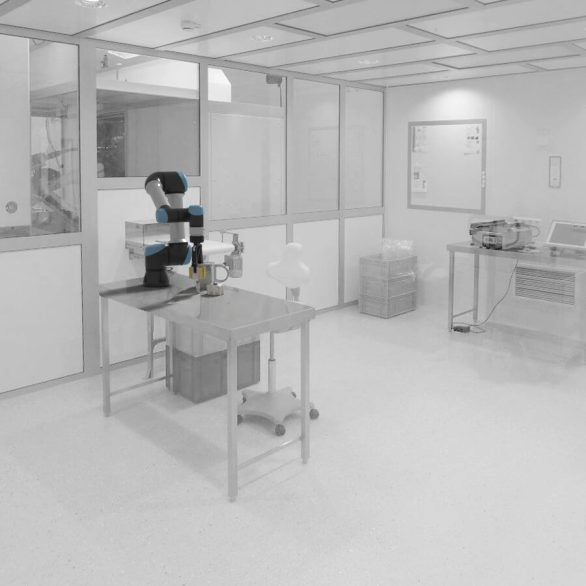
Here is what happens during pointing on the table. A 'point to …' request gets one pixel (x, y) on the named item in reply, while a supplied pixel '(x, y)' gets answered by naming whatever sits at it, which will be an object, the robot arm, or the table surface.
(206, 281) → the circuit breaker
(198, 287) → the gear plate
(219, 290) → the gear
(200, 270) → the brass gear
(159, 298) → the table surface
